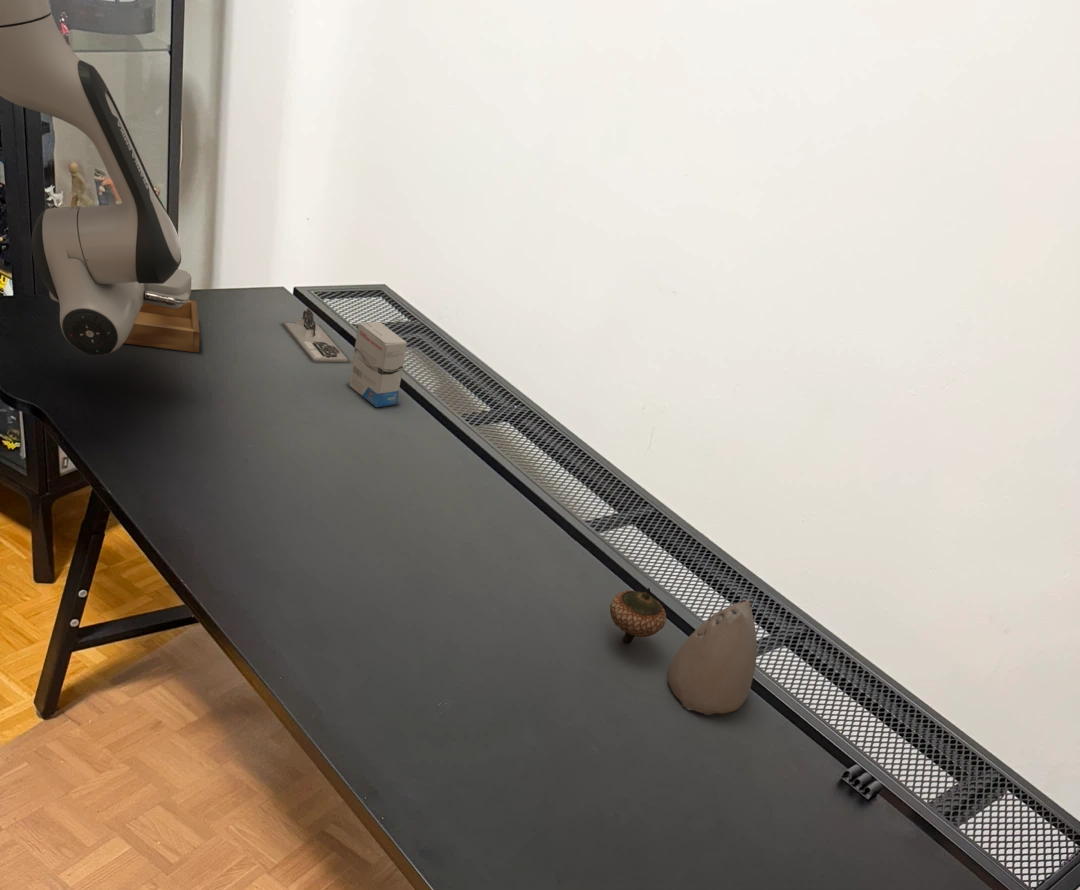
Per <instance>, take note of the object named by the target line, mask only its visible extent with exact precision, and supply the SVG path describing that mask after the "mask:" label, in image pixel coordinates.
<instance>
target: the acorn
mask: <svg viewBox="0 0 1080 890" xmlns="http://www.w3.org/2000/svg"><path fill="white" fill-rule="evenodd" d="M650 592H651V588H650V587H648V588H646V590H645V592H643V591H638V590H623V591H621V592H619V593H616V594H614V596H613V597H612V600H611V602H610V605H609V613H610V617H611V620H612V621H613V624H614V625H615V626H616V627H618V628H619V629H620V630H621V631H622V632H624V635H623V638H622V641H621V644H622V645H625V646H626V645H629V644H631V643H632V642H633V641H634V639H635V637H637V638H647V637H651V636H653V635H655V634H656V635H657V633H659V632H660V631H661V630H662V629H664V627H665V624H666V623H667V613H666V610H665V608H664V607H663V605H662V604H661V603H660V602H659V601H658V600H657V599H656V598H654V597H653V596H652V595H650Z"/></svg>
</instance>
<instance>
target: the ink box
mask: <svg viewBox="0 0 1080 890" xmlns="http://www.w3.org/2000/svg"><path fill="white" fill-rule="evenodd" d="M407 345H408V342H407V341H406V340H404V339H403V338H401V337H400V336H399V335H398V334H397V333H395V332H394V331H392V330H391V329H390V328H389V327H387V326H386V325H385V324H383V323H382V321H373V322H371V321H370V322H367V321H366V322H360V323H358V324H357V330H356V337H355V344H354V352H353V360H352V365H351V373H350V378H349V379H350V380H349V385H348V386H349V387H350V388H351V389H353V390H354V391H355V392H356V393H357V394H359V395H360V396H361V397H362V398H364V399H365V400H366V401H368V403H370V404H371V405H372V406H374V407H375V408H381V407H388V406H395V405H397V404H398V399H399V393H400V386H401V381H402V375H403V369H404V363H405V359H406V358H405V357H406V351H407Z"/></svg>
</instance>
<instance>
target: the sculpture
mask: <svg viewBox="0 0 1080 890" xmlns="http://www.w3.org/2000/svg"><path fill="white" fill-rule="evenodd" d="M754 619H755V618H754V615H753V610H752V606H751V602H750V600H749V599H747V598H746V599H744V600H742V601H740V602H736V603H732V604H731V605H729V606H727V607H725V608H723V609H722V610H719V611H717V612H715V613H713V614H712V615H711V616H710V617H708V618H707V619H706V620H705V621H704V622H703V623H702V624H700V625H699V626H698V627H696V629H695V630H694V631H693V632H692V633H691V634H690V635H689V636H688V637H687V638H686V640H685V641H684V642H683V643H682V644H681V646H680V647H679V649H678V650H677V652H676V653H675V654H674V656H673V658H672V660H671V661H670V664H669V667H668V668H667V669H668V670H667V682H668V684H669V687H670V689H671V691H672V693H673V695H674V696H675V697H676V698H677V699H678V700H679V701H680V702H681V704H682V707H684V708H685V709H686V710H688V711H694V712H698V713H701V714H703V715H704V716H711V715H714V714H722V715H723V714H728V713H732V712H736V711H737V710H738V709H740V707H741V706H742V705H743V704H744V703H745V701H746V700H747V699H748V696H749V694H750V691H751V688H752V683H753V680H754V679H753V678H754V675H755V672H756V671H755V670H756V665H757V655H758V641H757V630H756V624H755V620H754Z"/></svg>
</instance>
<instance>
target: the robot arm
mask: <svg viewBox="0 0 1080 890" xmlns="http://www.w3.org/2000/svg"><path fill="white" fill-rule="evenodd" d="M53 15H54V14H53V12H52V9H51V6H50V3H49V0H0V97H1V98H3V99H5V100H6V101H9V102H10V103H12V104H15V105H17V106H19V107H22V108H24V109H28V110H31V111H35V112H38V113H41V114H45V115H47V116H51V117H54V118H57V119H58V120H61V121H63V122H65V123H68V124H69V125H71V126H73V127H74V128H76V129H78V130H80V132H82V133H83V134H84V135H86V136H87V137H88V138H89V140H90V141H91V142H92V143H93V146H94V147H95V149H96V150H97V153H98V155H99V157H100V159H101V161H102V163H103V165H104V167H105V169H106V172H107V174H108V176H109V178H110V180H111V182H112V184H113V187H114V189H115V190H116V193H117V195H118V197H119V199H120V202H121V203H117V204H103V205H89V206H88V205H87V206H86V205H85V206H83V205H76V206H61V207H49V208H48V207H47V208H44V210H42V212H41V213H40V214H39V215H38V217H37V219H36V221H35V224H34V227H33V230H32V233H31V239H30V243H31V244H30V245H31V253H32V258H33V262H34V265H35V268H36V271H37V273H38V275H39V277H40V280H41V281H42V283H43V286H44V287H45V288H46V289H47V290H48V293H49V297H50V299H51V300H52V301H54V302H57V303H59V326H60V329H61V333H62V335H63V336H64V338H65V340H66V341H67V342H68V343H69V344H70V345H71V346H72V347H74V348H75V349H77V351H80V352H82V353H84V354H87V355H91V356H105V355H109V354H112V353H113V352H115V351H117V350H118V349H120V348H121V347H122V346H123V345H124V344H125V343H124V342H125V341H126V339H127V337H128V336H129V334H130V332H131V330H132V328H133V325H134V322H135V319H136V318H137V316H138V314H139V312H140V309H141V307H142V305H143V303H147V304H152V305H157V306H162V307H167V308H179V307H181V306H183V305H185V304H187V302H188V300H190V297H191V294H192V275H191V274H190V273H189V272H188V271H187V270H183V269H179V267H180V265H181V263H182V247H181V241H180V237H179V235H178V232H177V229H176V227H175V225H174V224H173V222H172V220H171V217H170V215H169V213H168V211H167V209H166V208H165V206H164V204H163V202H162V200H161V198H160V197H159V195H158V193H157V191H156V189H155V187H154V184H153V182H152V179H151V178H150V176H149V173H148V171H147V169H146V167H145V165H144V162H143V160H142V158H141V155H140V154H139V152H138V149H137V147H136V145H135V143H134V141H133V138H132V136H131V134H130V132H129V128H128V127H127V125H126V123H125V121H124V119H123V116H122V114H121V112H120V110H119V108H118V106H117V104H116V102H115V100H114V98H113V96H112V94H111V92H110V90H109V87H108V86H107V83H106V82H105V80H104V78H103V77H102V75H101V74H100V73H99V72H98V70H97V68H95V66H94V65H92V64H90V63H88V62H86V61H84V60H82V59H81V58H80V57H78V55H77V54H76V53H75V52H74V51H73V49H72V48H71V47H70V45H69V44H68V42H67V41H66V39H65V38H64V36H63V35H62V33H61V32H60V30H59V28H58V26H57V23H56V21H55V18H54V16H53Z"/></svg>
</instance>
